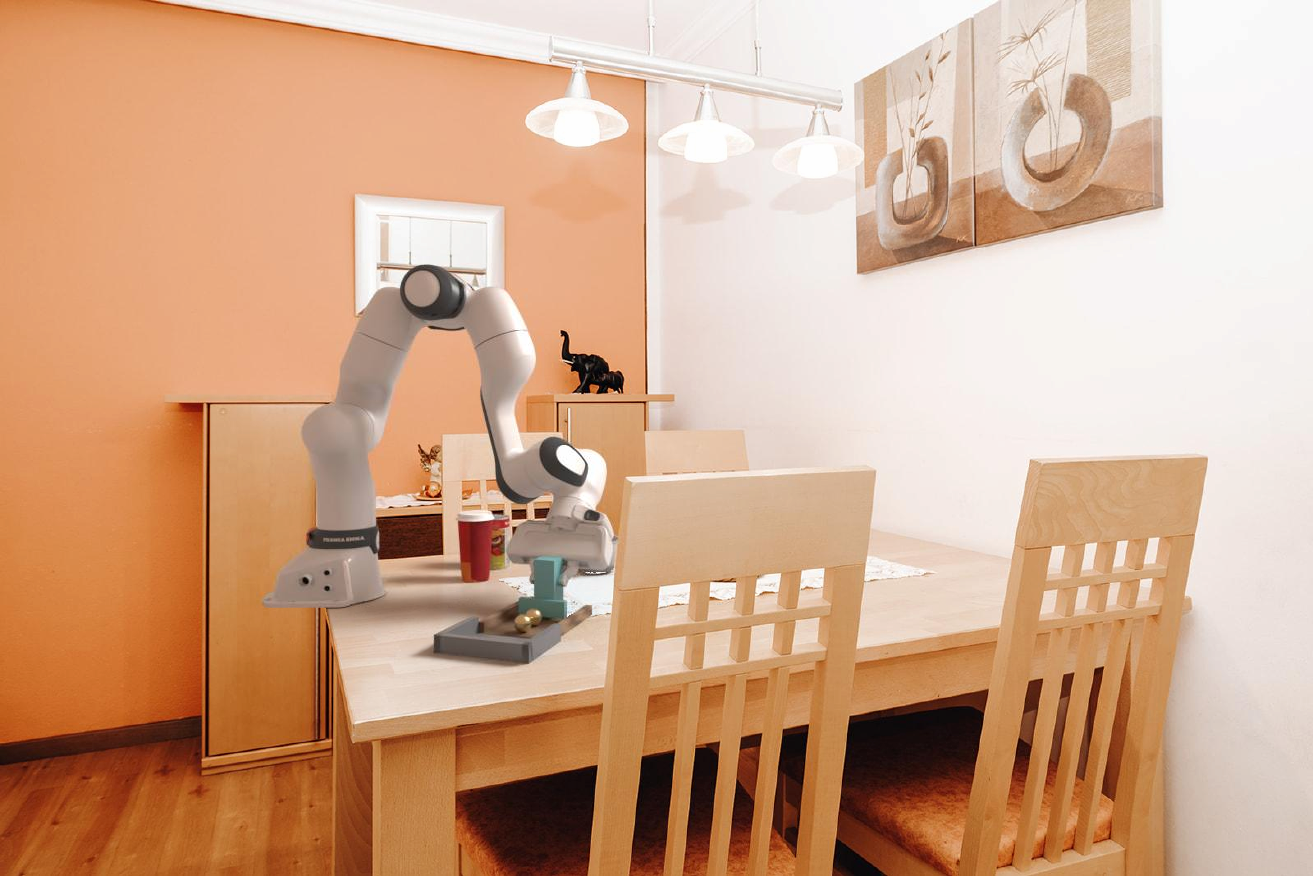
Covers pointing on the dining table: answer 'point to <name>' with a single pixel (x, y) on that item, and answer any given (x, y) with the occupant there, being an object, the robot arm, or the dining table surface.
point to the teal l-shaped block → (546, 589)
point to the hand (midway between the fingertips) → (547, 583)
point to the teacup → (611, 565)
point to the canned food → (500, 542)
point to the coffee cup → (475, 544)
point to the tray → (494, 642)
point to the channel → (505, 626)
